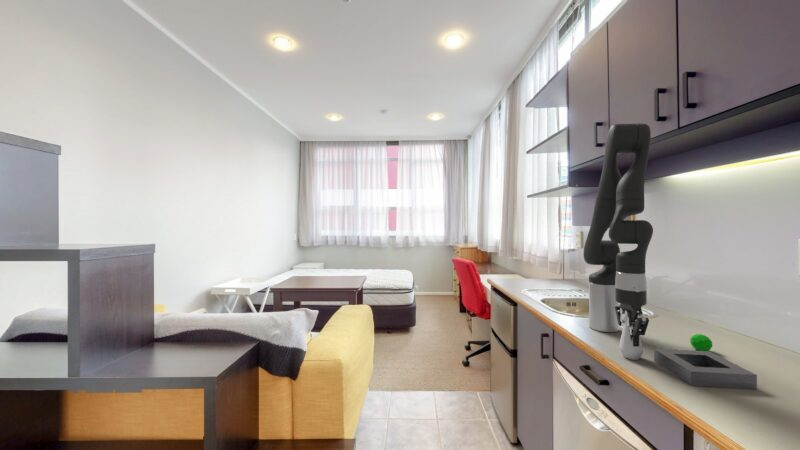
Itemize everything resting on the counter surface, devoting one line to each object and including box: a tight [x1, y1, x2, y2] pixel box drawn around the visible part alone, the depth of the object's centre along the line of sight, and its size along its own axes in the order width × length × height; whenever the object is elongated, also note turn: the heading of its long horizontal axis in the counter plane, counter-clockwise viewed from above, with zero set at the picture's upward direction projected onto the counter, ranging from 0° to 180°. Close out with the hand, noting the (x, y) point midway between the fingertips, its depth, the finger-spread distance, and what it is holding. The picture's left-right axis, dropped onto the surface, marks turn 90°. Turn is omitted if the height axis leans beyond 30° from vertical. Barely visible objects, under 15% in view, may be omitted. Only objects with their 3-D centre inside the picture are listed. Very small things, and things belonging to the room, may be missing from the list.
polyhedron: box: [689, 333, 713, 351], centre depth 98 cm, size 5×5×5 cm
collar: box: [653, 348, 758, 391], centre depth 84 cm, size 14×14×4 cm
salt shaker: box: [618, 313, 644, 361], centre depth 94 cm, size 6×6×13 cm
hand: (630, 344), depth 94 cm, fingers closed on salt shaker, 3 cm apart
